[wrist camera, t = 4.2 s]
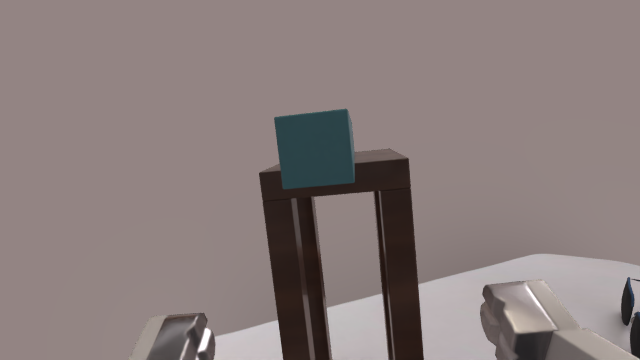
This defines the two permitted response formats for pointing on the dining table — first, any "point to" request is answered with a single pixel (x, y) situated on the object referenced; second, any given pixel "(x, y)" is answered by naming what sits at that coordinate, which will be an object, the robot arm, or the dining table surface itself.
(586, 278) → the dining table surface
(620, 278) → the dining table surface
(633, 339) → the sunglasses
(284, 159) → the rail
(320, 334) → the stand
